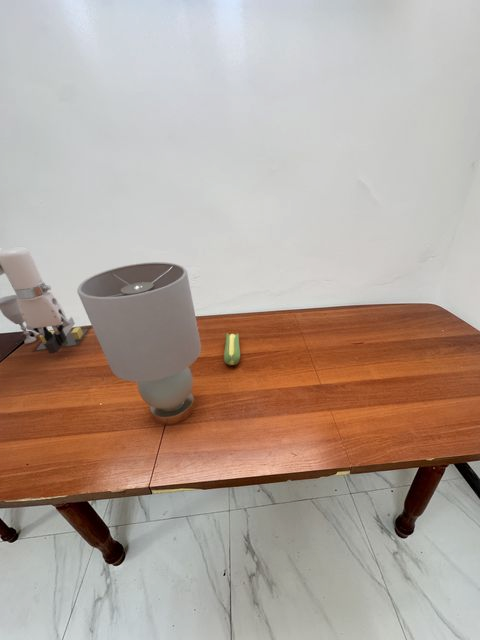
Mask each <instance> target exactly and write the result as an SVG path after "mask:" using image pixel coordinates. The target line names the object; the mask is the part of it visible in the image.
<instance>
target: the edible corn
mask: <svg viewBox="0 0 480 640" xmlns="http://www.w3.org/2000/svg"><path fill="white" fill-rule="evenodd" d="M225 337H226V338H225V345H224V352H223V361H224V363H225V364H226V365H227V366H236V365H238V364H239V363H240V359H241V349H240V336H239V333H236V334H234V333H231V334H229V331H228V332H226V335H225Z"/></svg>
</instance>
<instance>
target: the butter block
mask: <svg viewBox="0 0 480 640" xmlns="http://www.w3.org/2000/svg"><path fill="white" fill-rule="evenodd" d="M48 331H49V332H51V333H52V334H53V333H54V330H53V329H52V330H48ZM39 338H40V341H41V343H42V342H43V344H45V343H46V340H45V338H44V336H41V335H39Z"/></svg>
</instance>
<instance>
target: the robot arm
mask: <svg viewBox="0 0 480 640" xmlns="http://www.w3.org/2000/svg"><path fill="white" fill-rule="evenodd" d="M4 274H5V276H6V277H7V279H8V282H9V283H10V285H11V287H12V289H13V291H14V293H15V295H17V297H18V298H17V303H18V307H19V310H20V312H21V315H22V317H23V319H24V321H25V322H24V323H25V325H26V326H25V327H26V330H27V331H33V332H34V333H37V334H39V336H44V338H45V340H46V342H47V341H48V339H49V338H50V337H51V336H52V333H51V332H49V331H50V330H49V327H51V328H52V330H54V332H55V338H56V340H57V342H58V344H59V345H62V344H63V343H64V342H65V337H64V335H63V333H62V330H63V328H64V327H66V326H68V325H69V324H70V322H69V321H68V320H69V319H68V318H67V315H66V312H65V311H64V309H63V307H62V305H61V304H60V301H59V300H58V298H57V297H56V296H55V294H54V293H53V292H52V290H51V289H52V286H51V285H47V284H46V283H45V282H44V281H43V277H42V276H41V273H40V271H39V269H38V267H37V265H36V263H35V259H34V258H33V256H32V254H31V252H30V250H29V249H28V248H27V247H24V246H9V247H0V276H2V275H4Z"/></svg>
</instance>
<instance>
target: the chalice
mask: <svg viewBox="0 0 480 640" xmlns="http://www.w3.org/2000/svg"><path fill="white" fill-rule="evenodd" d="M17 298H18V297H17V295H16V294H10V295H7V296H4V297H0V312H1V313H2V315H3V316H4V317H5V318H6V319H7V320H8V321H10V322H12V323H14V324H15V325H19V326H20V330H22V331H23V335H25V337H26V338H25V339H24V344H32V343H34V342H36V341H37V337H35V336H31V335H30V331H29V330H27V329H26V326H25V325H24V323H25V321H24V319H23V317H22V315H21V312H20V310H19V307H18V303H17Z"/></svg>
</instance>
